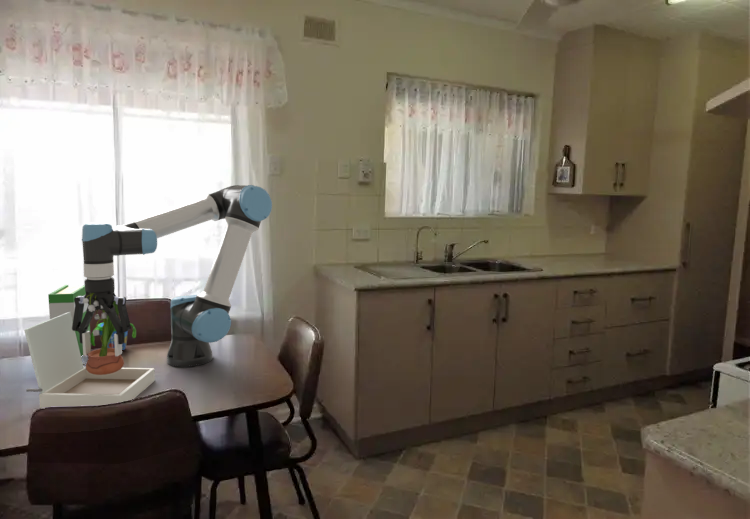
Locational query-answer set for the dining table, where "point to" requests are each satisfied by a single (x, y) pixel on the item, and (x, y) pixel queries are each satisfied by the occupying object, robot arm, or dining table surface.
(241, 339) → the dining table surface
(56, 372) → the white open hinged box
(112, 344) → the snack cup
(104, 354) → the potted flower
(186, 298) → the robot arm
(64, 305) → the hardback book
